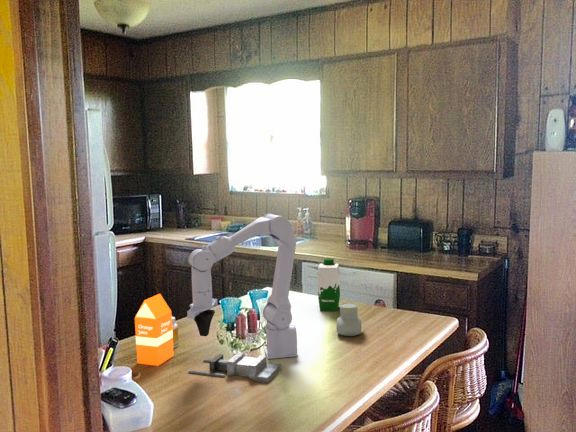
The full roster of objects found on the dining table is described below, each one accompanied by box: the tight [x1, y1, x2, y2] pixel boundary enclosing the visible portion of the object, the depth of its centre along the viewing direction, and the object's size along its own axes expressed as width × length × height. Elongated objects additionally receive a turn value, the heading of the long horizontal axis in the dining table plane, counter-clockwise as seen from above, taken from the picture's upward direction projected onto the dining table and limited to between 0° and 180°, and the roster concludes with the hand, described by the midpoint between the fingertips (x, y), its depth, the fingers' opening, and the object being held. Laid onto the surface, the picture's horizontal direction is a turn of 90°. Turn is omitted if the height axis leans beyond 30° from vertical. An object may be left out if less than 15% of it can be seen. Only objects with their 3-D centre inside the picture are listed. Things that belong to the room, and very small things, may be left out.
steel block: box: [235, 356, 257, 377], centre depth 155 cm, size 5×6×4 cm
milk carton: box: [316, 257, 341, 312], centre depth 217 cm, size 9×9×20 cm
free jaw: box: [208, 352, 245, 377], centre depth 157 cm, size 8×7×4 cm
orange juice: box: [134, 293, 175, 366], centre depth 167 cm, size 8×9×20 cm
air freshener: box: [336, 303, 362, 337], centre depth 186 cm, size 11×8×10 cm
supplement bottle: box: [172, 316, 180, 349], centre depth 179 cm, size 5×5×10 cm
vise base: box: [188, 354, 282, 384], centre depth 156 cm, size 25×10×4 cm, turn 70°
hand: (204, 335), depth 159 cm, fingers closed
